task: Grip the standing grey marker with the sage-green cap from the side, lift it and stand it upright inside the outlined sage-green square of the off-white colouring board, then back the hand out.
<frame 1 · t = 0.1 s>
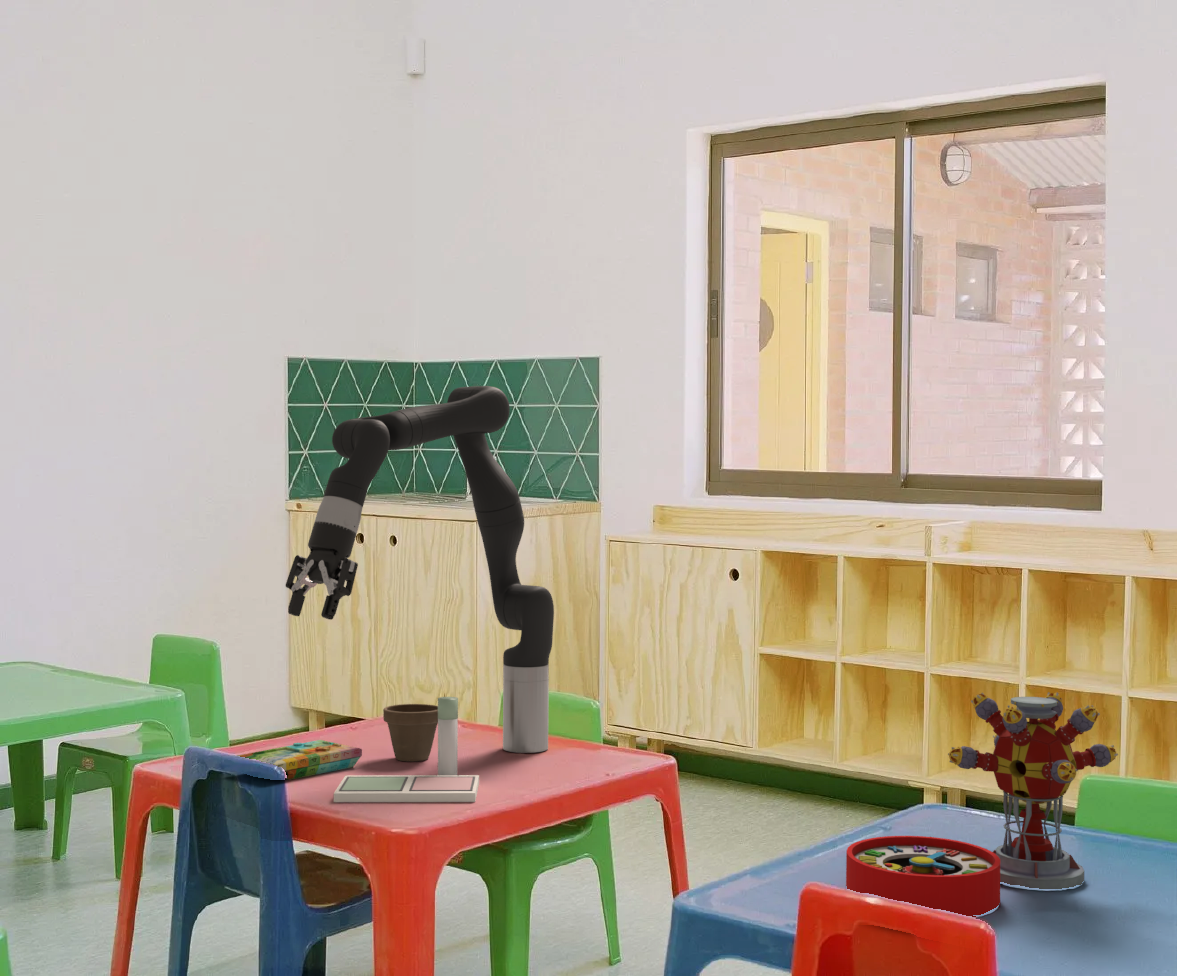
hand: (309, 616, 238), 31 cm above the table, tool tilted 20°, fingers open, 8 cm apart
robot toy: (1031, 877, 196), on the table
puzzle game: (299, 773, 262), on the table
toy clock: (922, 900, 186), on the table
green marker: (447, 777, 257), on the table
flower pot: (412, 759, 274), on the table
colouring board: (408, 792, 245), on the table
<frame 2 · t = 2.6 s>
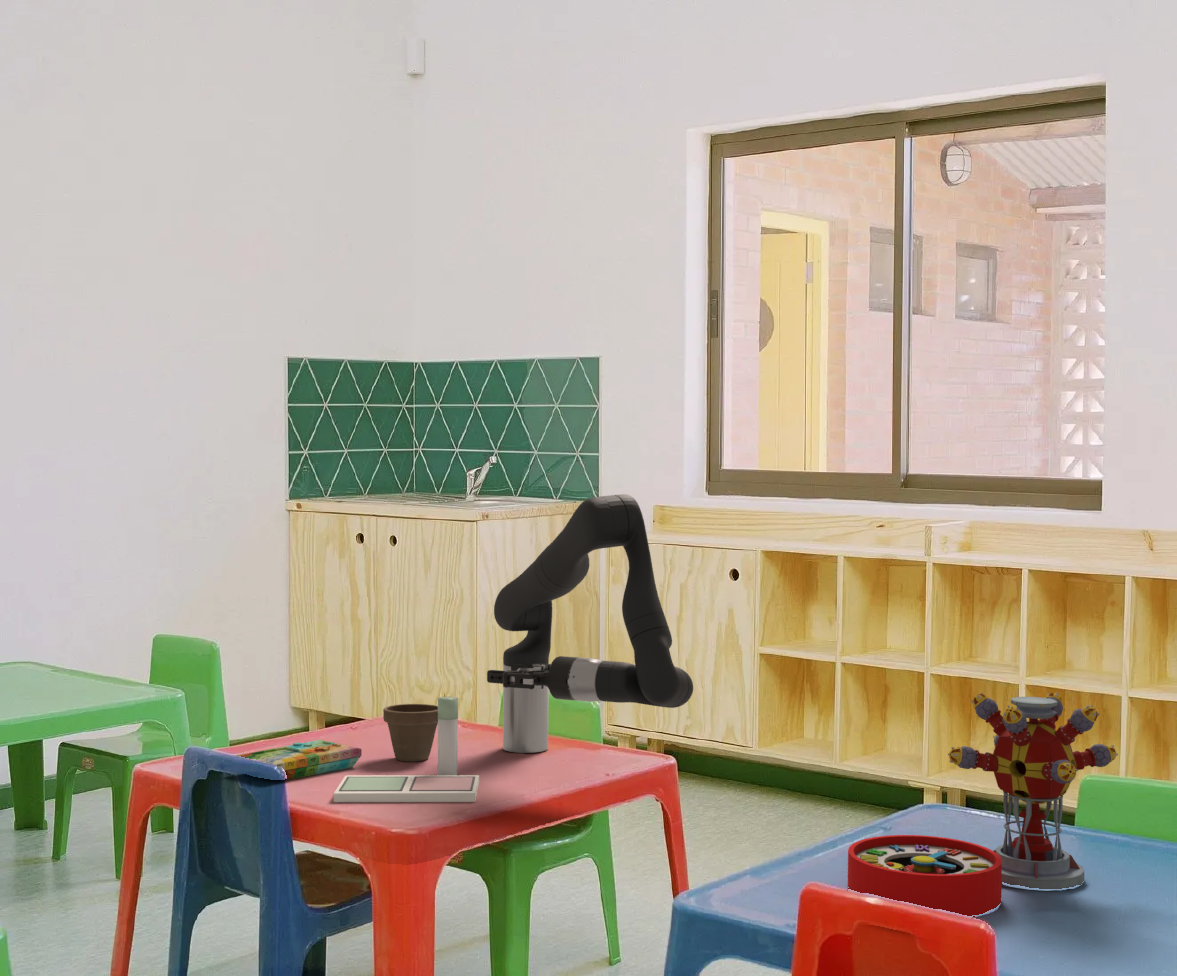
hand: (500, 673, 252), 20 cm above the table, tool horizontal, fingers open, 8 cm apart
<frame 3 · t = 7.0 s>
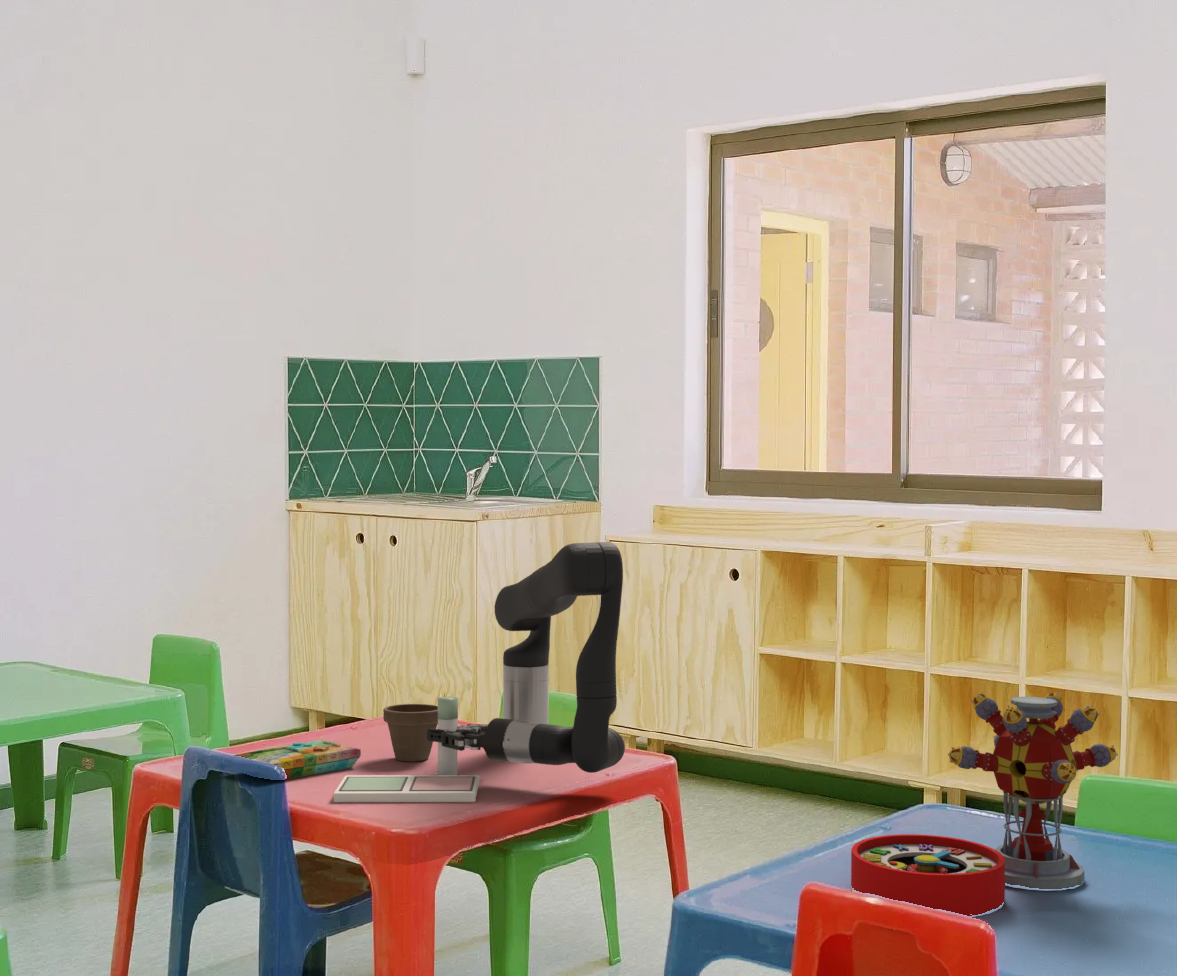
hand: (434, 732, 258), 8 cm above the table, tool horizontal, fingers closed on green marker, 3 cm apart
green marker: (447, 777, 257), on the table, touching gripper
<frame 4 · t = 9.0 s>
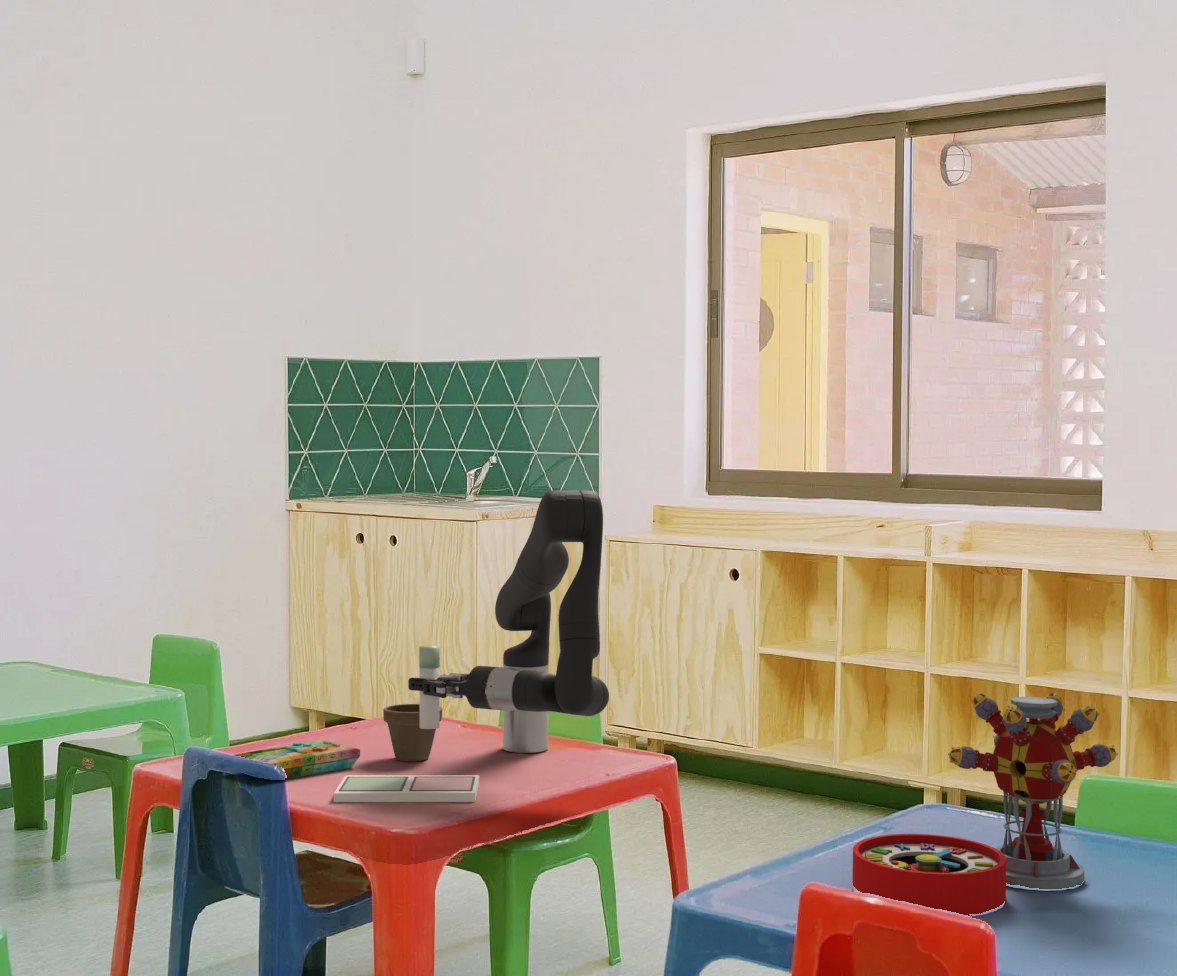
hand: (416, 682, 254), 18 cm above the table, tool horizontal, fingers closed on green marker, 3 cm apart
green marker: (429, 727, 253), point 10 cm above the table, touching gripper
when the fingers open (11 cm above the table, at t = 11.3 s): green marker drops 1 cm, resting on colouring board.
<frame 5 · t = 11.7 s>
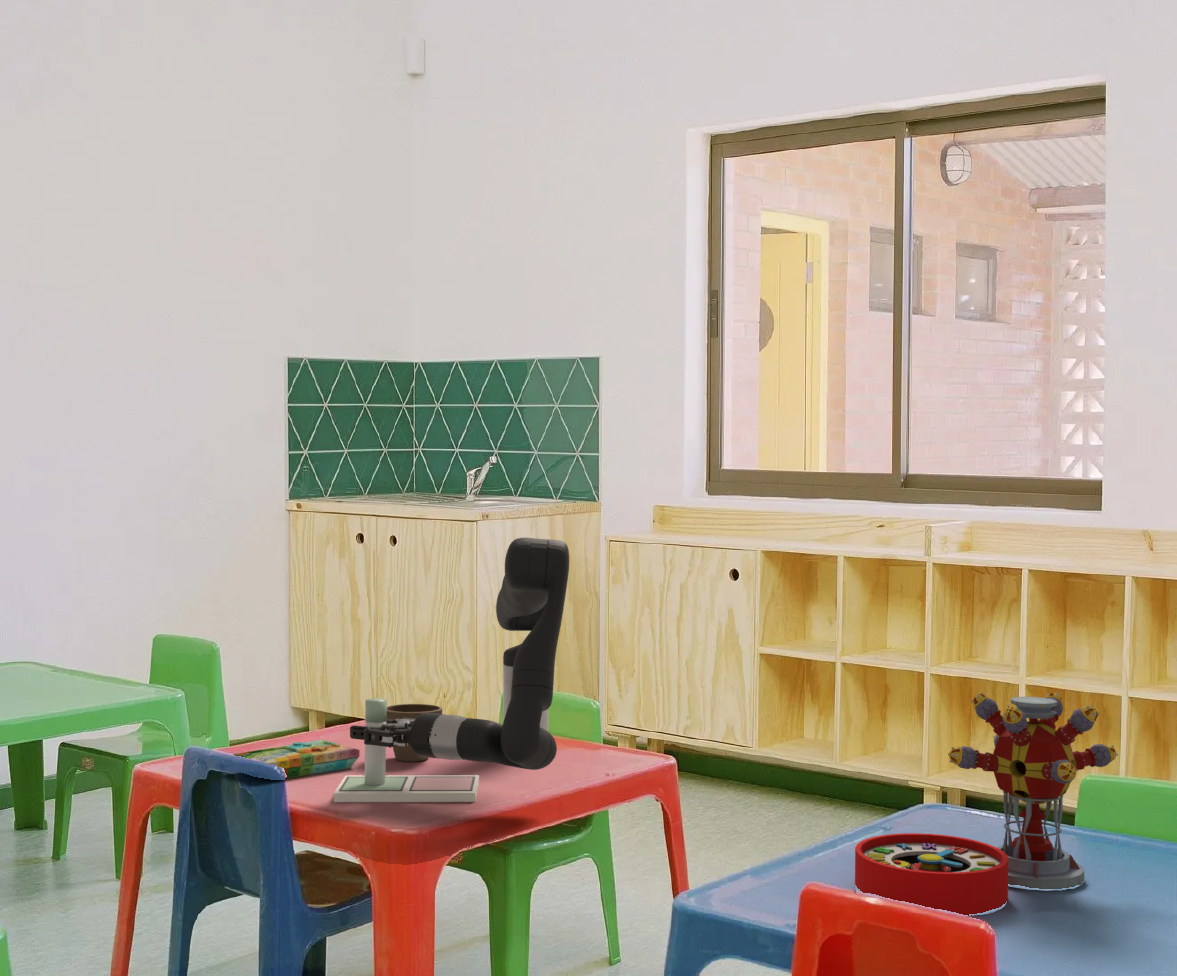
hand: (363, 728, 245), 11 cm above the table, tool horizontal, fingers open, 7 cm apart
green marker: (374, 783, 245), point 2 cm above the table, touching colouring board
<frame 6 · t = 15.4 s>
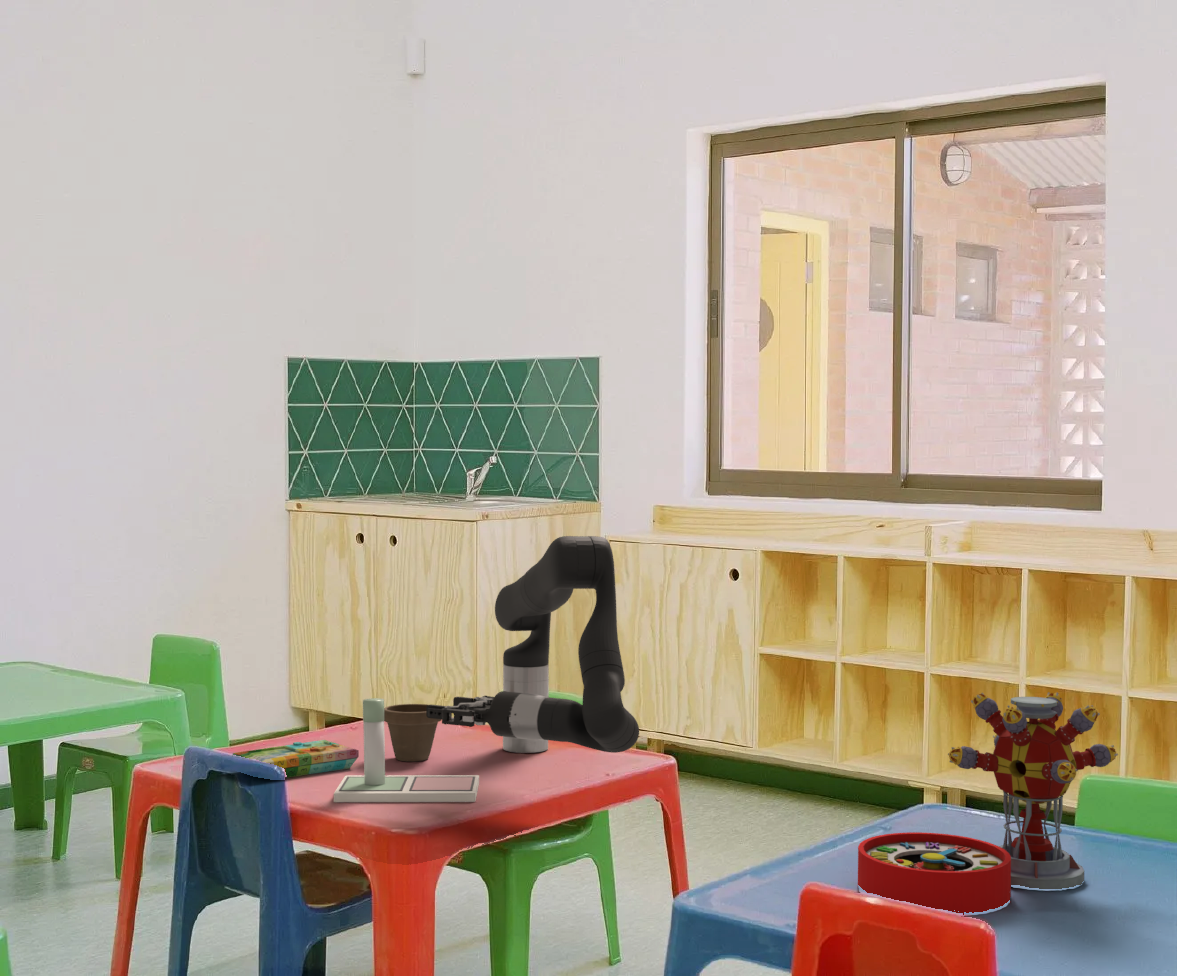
hand: (441, 706, 241), 16 cm above the table, tool horizontal, fingers open, 8 cm apart
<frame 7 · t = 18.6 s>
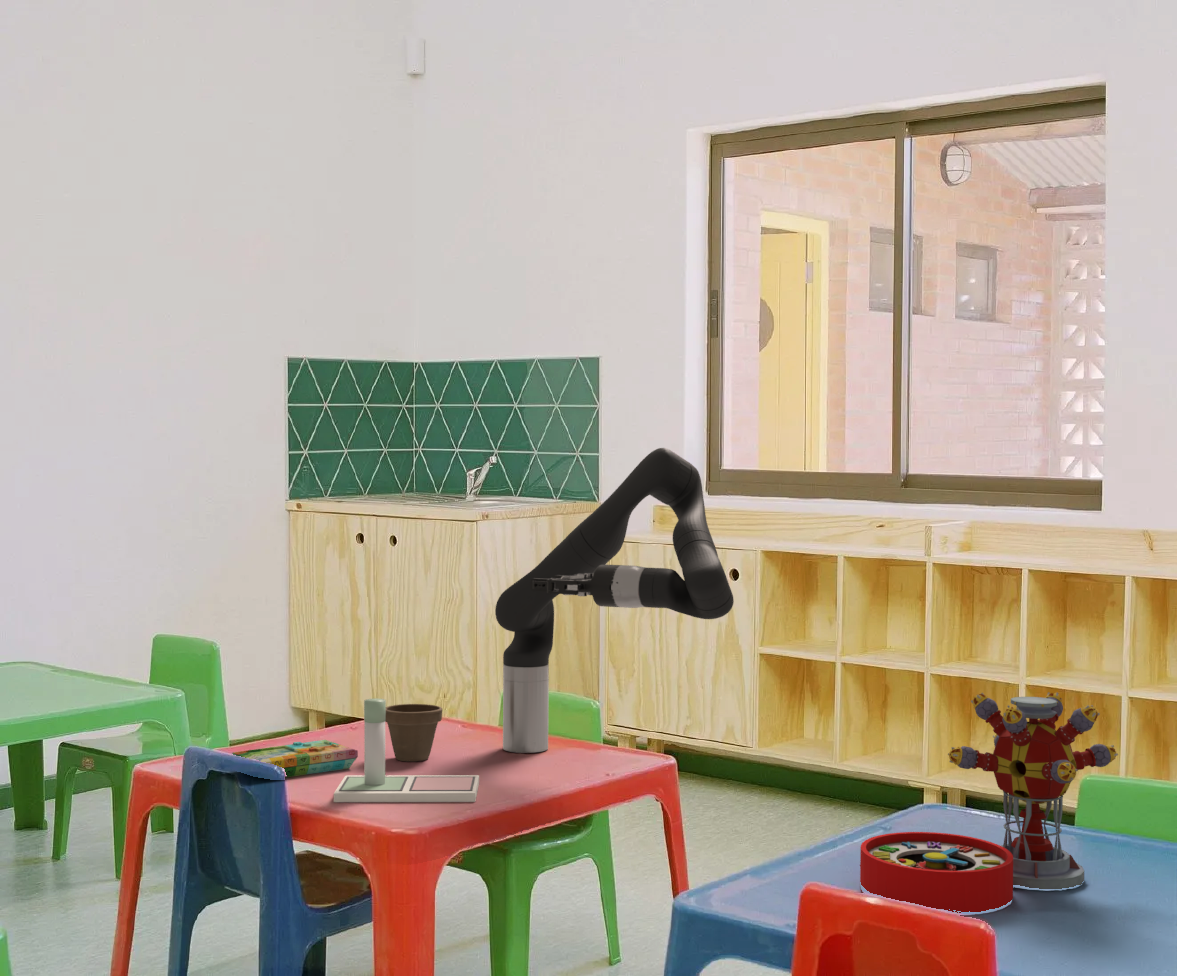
hand: (542, 582, 256), 36 cm above the table, tool horizontal, fingers open, 8 cm apart
at the end: green marker inside the target area on the colouring board (0.1 cm from its centre), point 1.6 cm above the colouring board's base; green marker tilted 1°; the gripper is holding nothing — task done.
